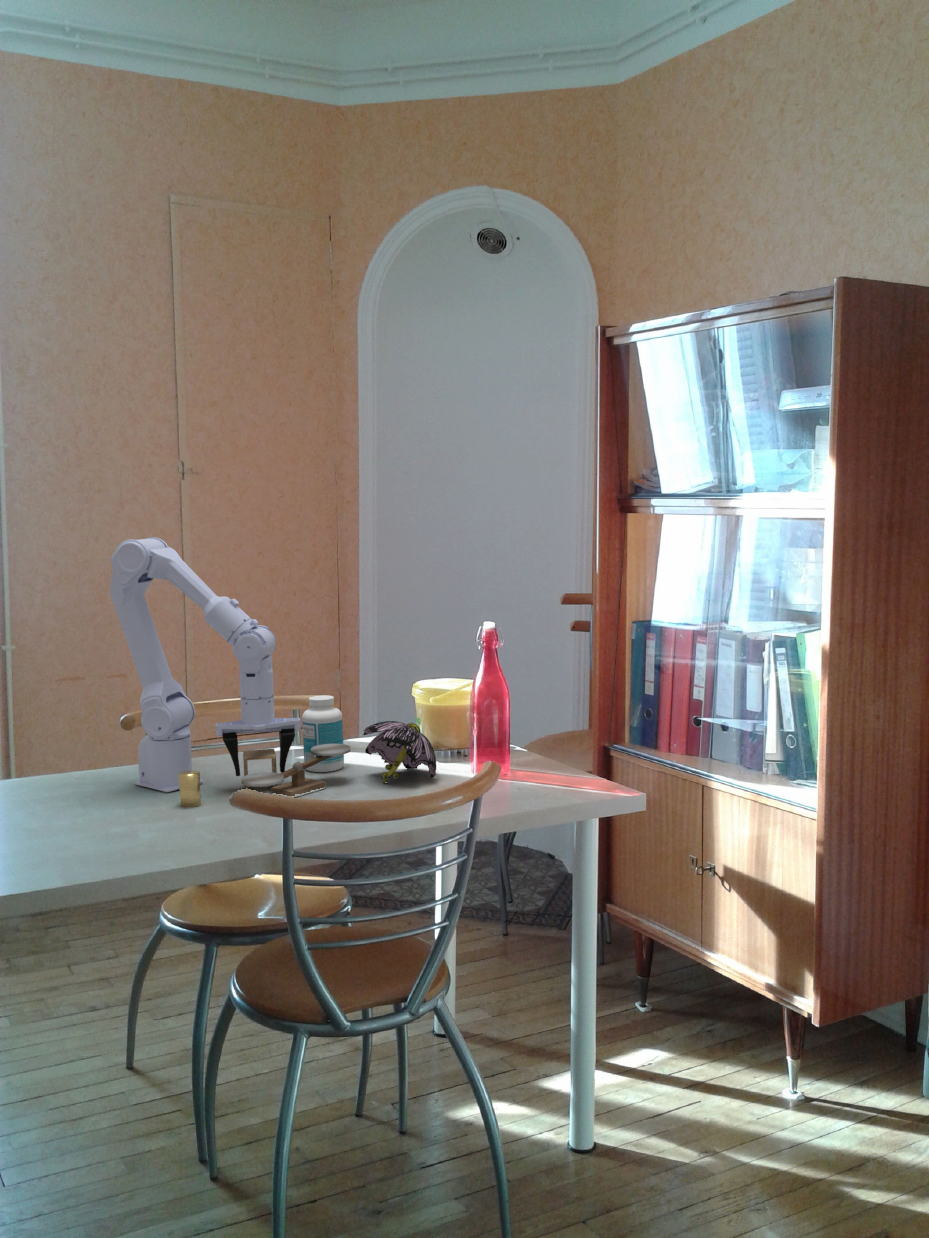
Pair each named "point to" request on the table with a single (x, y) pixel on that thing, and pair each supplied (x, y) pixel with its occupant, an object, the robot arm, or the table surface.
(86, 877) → the table surface
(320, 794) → the table surface
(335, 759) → the pill bottle
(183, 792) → the cylinder
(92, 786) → the table surface
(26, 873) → the table surface
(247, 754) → the small wooden stool
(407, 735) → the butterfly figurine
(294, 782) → the balance
